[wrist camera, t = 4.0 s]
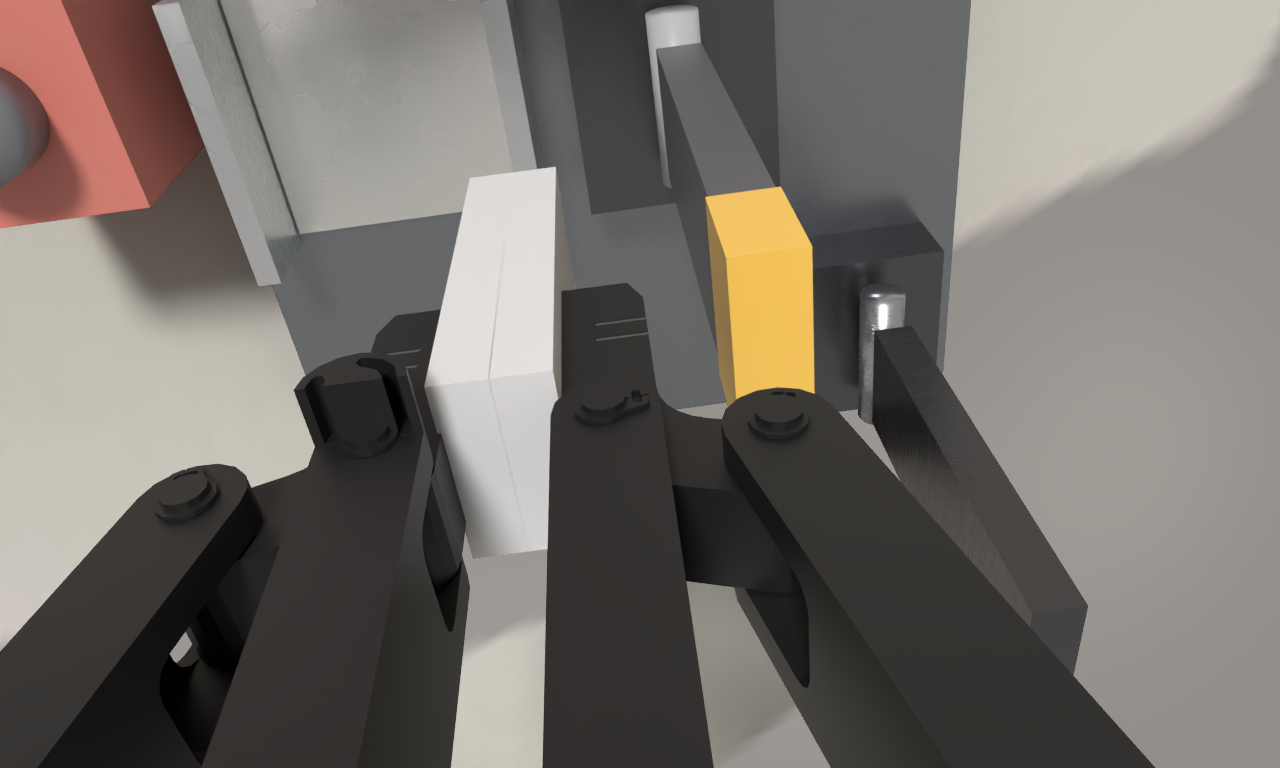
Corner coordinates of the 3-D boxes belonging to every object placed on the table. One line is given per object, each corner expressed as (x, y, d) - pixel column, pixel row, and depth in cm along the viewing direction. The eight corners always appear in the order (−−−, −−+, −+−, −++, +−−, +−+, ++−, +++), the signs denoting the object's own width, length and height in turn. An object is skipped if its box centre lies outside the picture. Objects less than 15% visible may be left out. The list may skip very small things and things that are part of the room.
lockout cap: (49, 147, 27) (-102, 266, 21) (-41, -42, 24) (-247, 30, 18) (224, 123, 27) (126, 234, 21) (154, -69, 24) (16, -8, 18)
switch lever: (660, 174, 24) (737, 475, 14) (643, 9, 22) (719, 226, 12) (707, 167, 24) (818, 464, 14) (694, 2, 22) (816, 211, 12)
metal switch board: (347, 420, 33) (205, 877, 19) (149, -138, 23) (-390, 5, 10) (923, 340, 33) (1177, 742, 19) (958, -249, 23) (1498, -256, 10)
